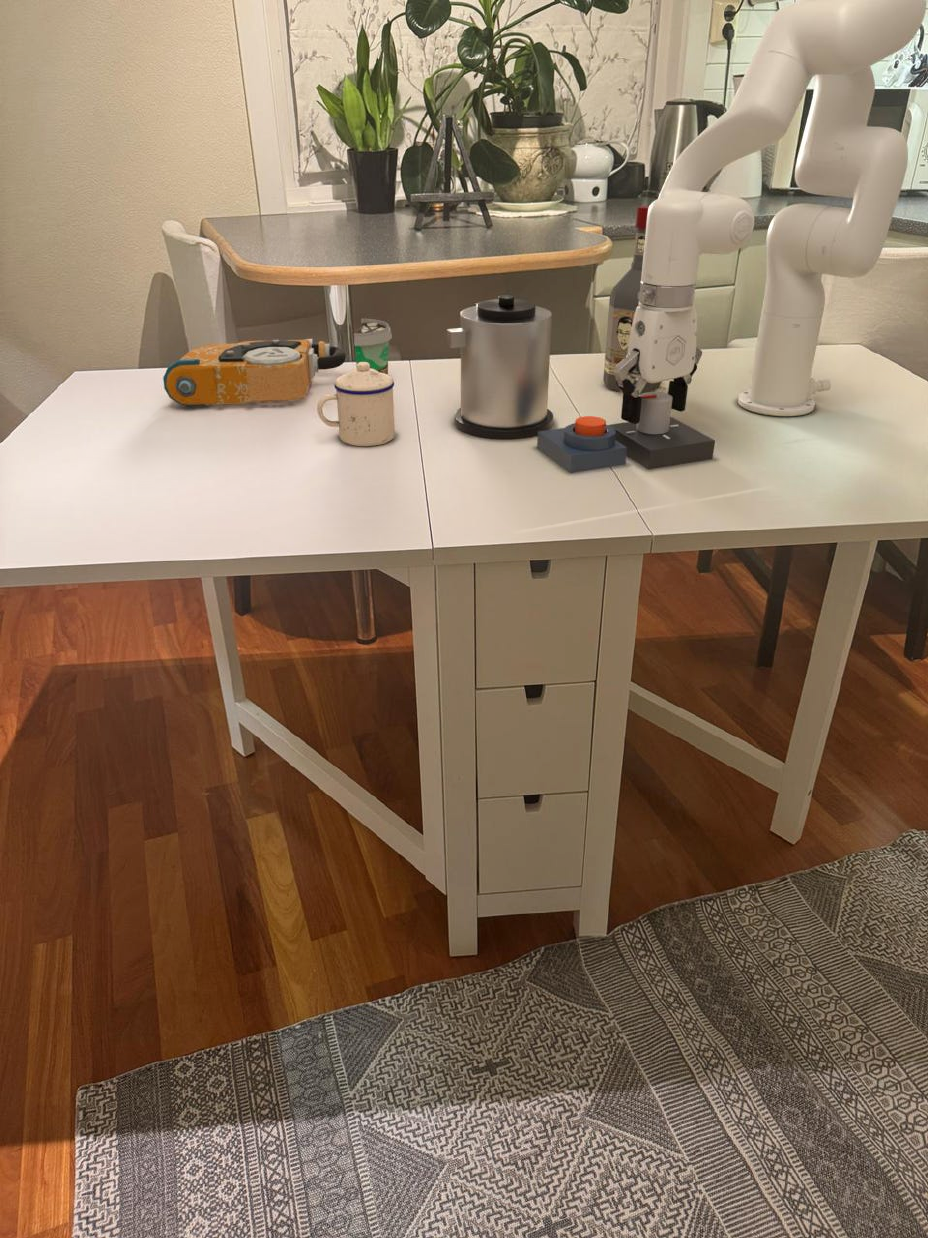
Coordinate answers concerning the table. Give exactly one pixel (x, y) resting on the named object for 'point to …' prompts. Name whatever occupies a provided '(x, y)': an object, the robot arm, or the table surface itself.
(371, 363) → the food container
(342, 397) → the teacup with lid
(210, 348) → the device
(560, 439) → the button housing
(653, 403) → the dial
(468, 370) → the kettle
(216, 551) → the table surface
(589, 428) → the button
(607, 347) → the liquor
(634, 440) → the console
